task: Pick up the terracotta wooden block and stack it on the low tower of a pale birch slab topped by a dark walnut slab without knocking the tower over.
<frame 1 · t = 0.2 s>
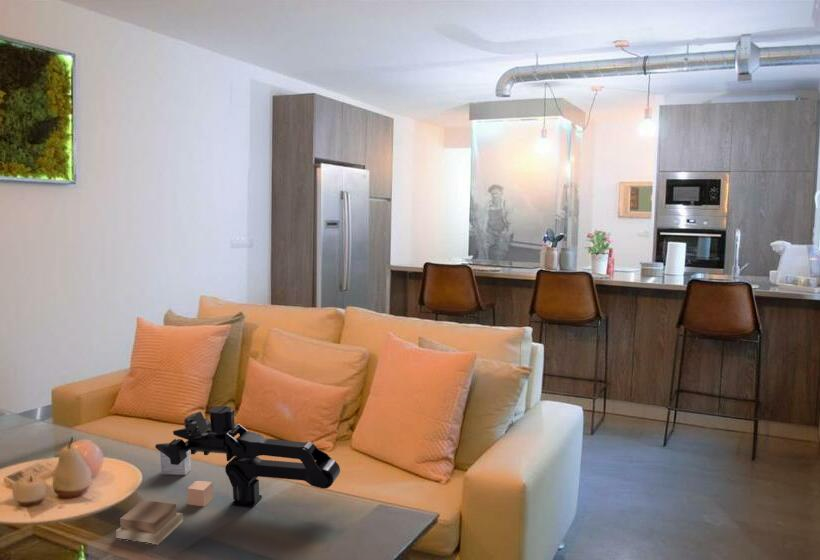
hand: (164, 439, 201), 16 cm above the table, tool horizontal, fingers open, 9 cm apart
medicine box: (176, 472, 217), on the table
walnut slab: (149, 521, 183), point 2 cm above the table, touching birch slab
birch slab: (150, 532, 183), on the table, touching walnut slab
terracotta block: (200, 501, 198), on the table
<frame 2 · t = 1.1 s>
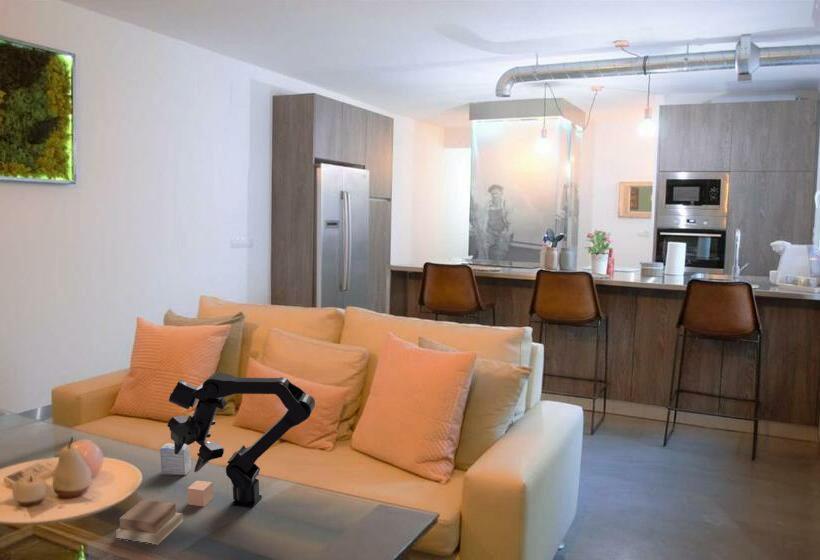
hand: (185, 462, 197), 11 cm above the table, tool tilted 25°, fingers open, 9 cm apart
nothing on the table moved.
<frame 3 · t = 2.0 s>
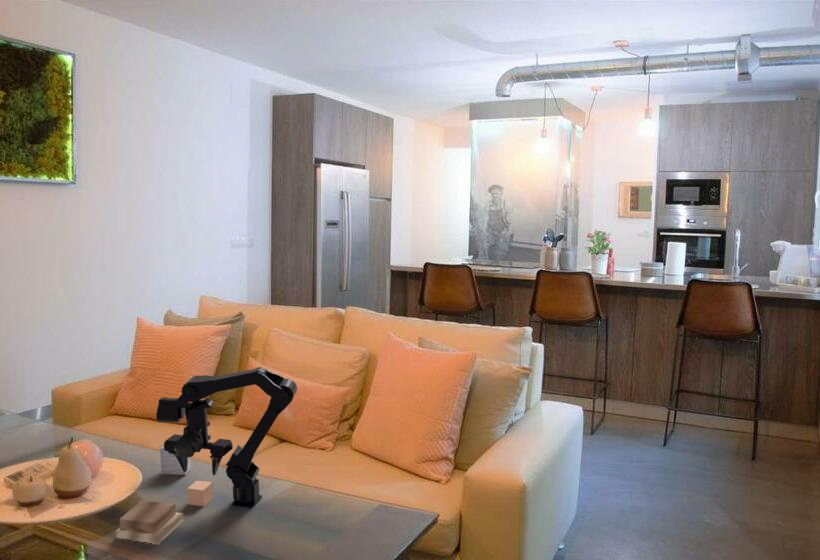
hand: (199, 473, 197), 9 cm above the table, tool pointing down, fingers open, 9 cm apart
nothing on the table moved.
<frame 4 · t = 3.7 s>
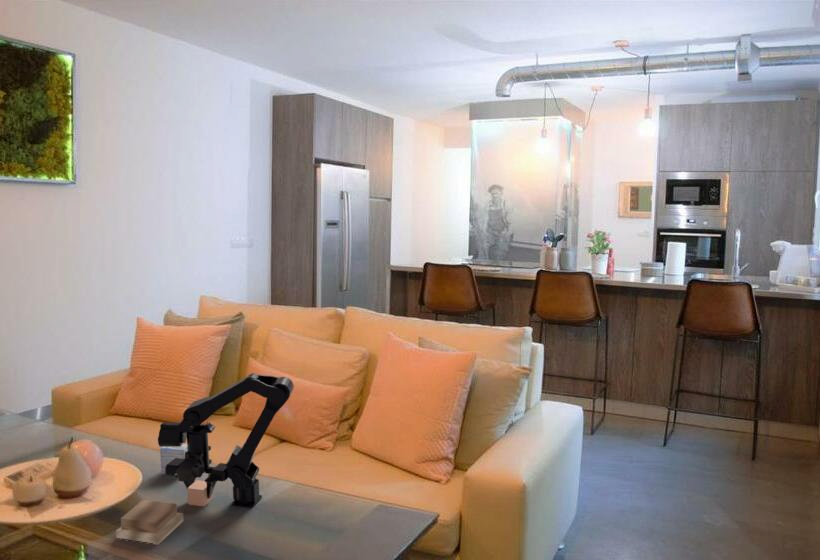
hand: (200, 497, 198), 1 cm above the table, tool pointing down, fingers closed on terracotta block, 5 cm apart
terracotta block: (200, 501, 198), on the table, touching gripper
everything else where it was.
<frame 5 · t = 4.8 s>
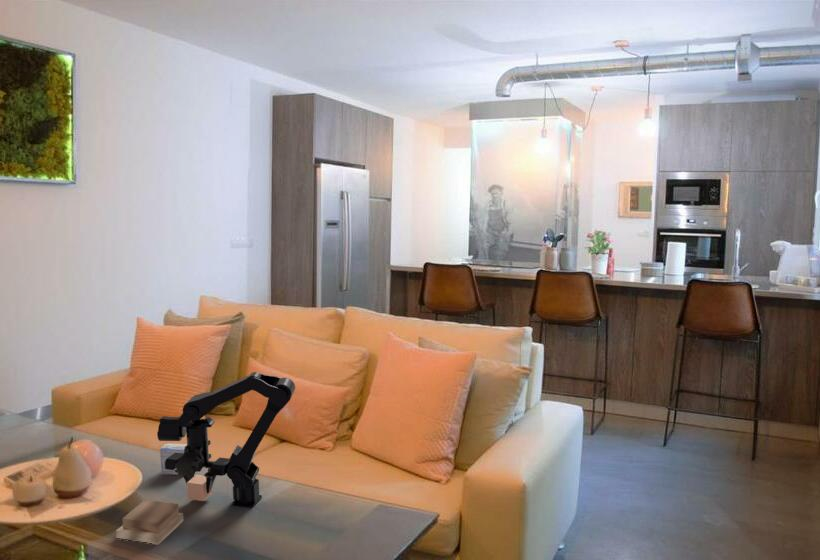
hand: (200, 491, 198), 3 cm above the table, tool pointing down, fingers closed on terracotta block, 5 cm apart
walnut slab: (151, 521, 183), point 2 cm above the table
birch slab: (150, 532, 183), on the table
terracotta block: (200, 495, 198), point 2 cm above the table, touching gripper
everything else where it was.
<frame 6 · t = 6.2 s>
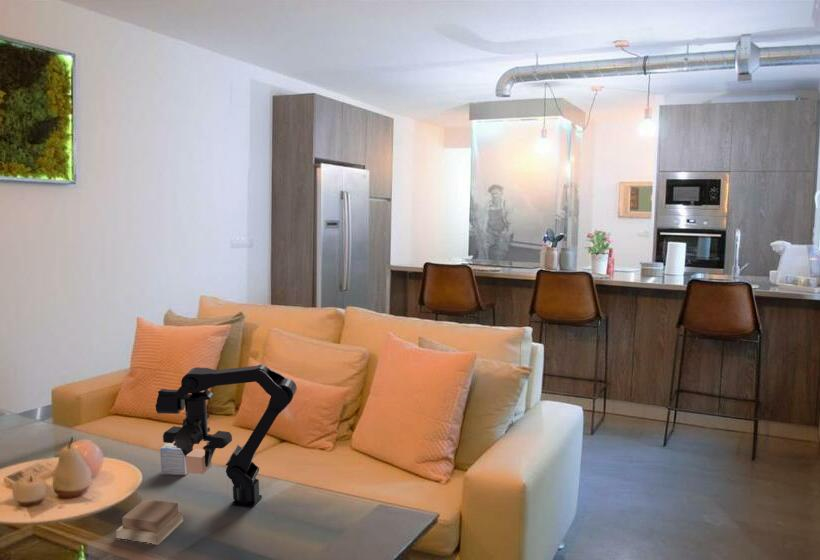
hand: (198, 465, 196), 11 cm above the table, tool pointing down, fingers closed on terracotta block, 5 cm apart
terracotta block: (199, 469, 197), point 10 cm above the table, touching gripper
everything else where it was.
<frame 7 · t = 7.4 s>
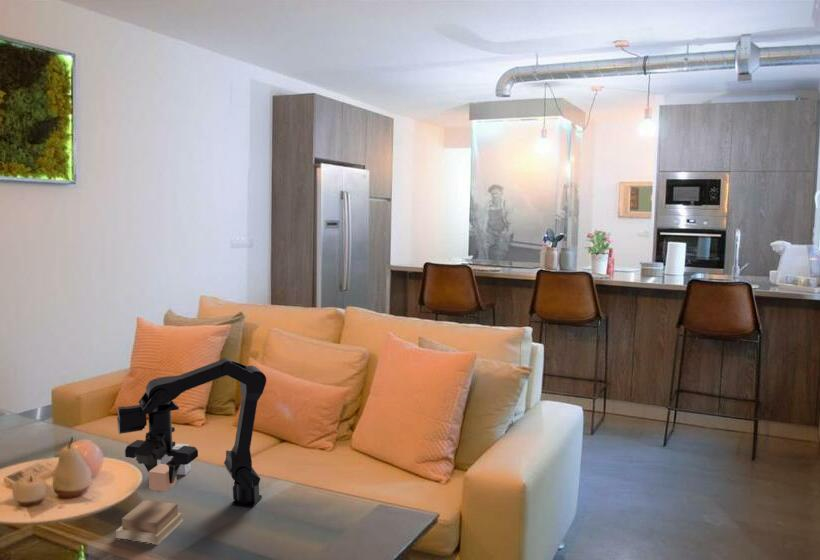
hand: (162, 481, 186), 11 cm above the table, tool pointing down, fingers closed on terracotta block, 5 cm apart
walnut slab: (150, 521, 183), point 2 cm above the table, touching birch slab
birch slab: (150, 532, 183), on the table, touching walnut slab
terracotta block: (163, 486, 186), point 10 cm above the table, touching gripper
everything else where it was.
when the fingers open (8 cm above the table, at t = 9.4 s): terracotta block drops 2 cm, point 5 cm above the table.
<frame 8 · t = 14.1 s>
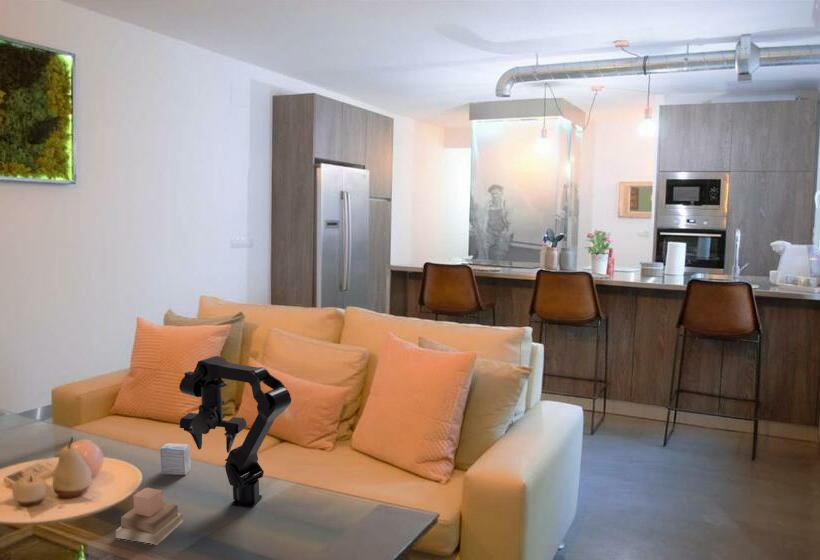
hand: (214, 450, 203), 12 cm above the table, tool pointing down, fingers open, 9 cm apart
terracotta block: (148, 510, 182), point 5 cm above the table
everything else where it was.
at the end: terracotta block 0.2 cm off-centre on the walnut slab, point 3.1 cm above the walnut slab's base; terracotta block tilted 1°; walnut slab moved 0.7 cm from its start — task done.
